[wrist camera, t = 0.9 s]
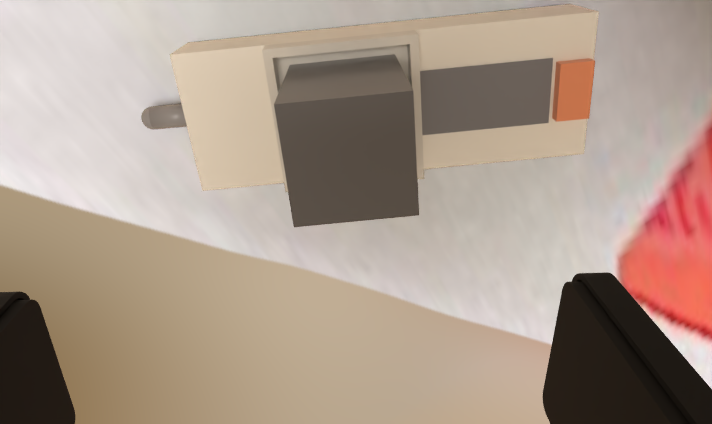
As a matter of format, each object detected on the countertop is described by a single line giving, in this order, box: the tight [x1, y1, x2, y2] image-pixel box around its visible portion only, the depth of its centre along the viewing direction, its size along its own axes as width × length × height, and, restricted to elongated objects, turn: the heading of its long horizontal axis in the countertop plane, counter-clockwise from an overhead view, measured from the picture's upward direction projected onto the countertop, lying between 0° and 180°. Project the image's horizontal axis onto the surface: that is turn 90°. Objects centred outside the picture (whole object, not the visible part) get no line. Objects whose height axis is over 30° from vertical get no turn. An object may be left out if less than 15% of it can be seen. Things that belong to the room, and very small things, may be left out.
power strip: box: [141, 4, 599, 192], centre depth 28 cm, size 23×7×5 cm, turn 95°
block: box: [274, 54, 419, 227], centre depth 23 cm, size 5×5×7 cm
